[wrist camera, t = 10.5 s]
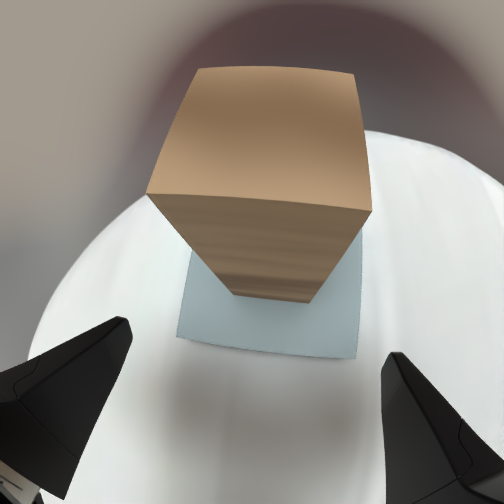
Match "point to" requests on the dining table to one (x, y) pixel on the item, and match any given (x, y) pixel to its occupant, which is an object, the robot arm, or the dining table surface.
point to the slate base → (276, 313)
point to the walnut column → (266, 176)
